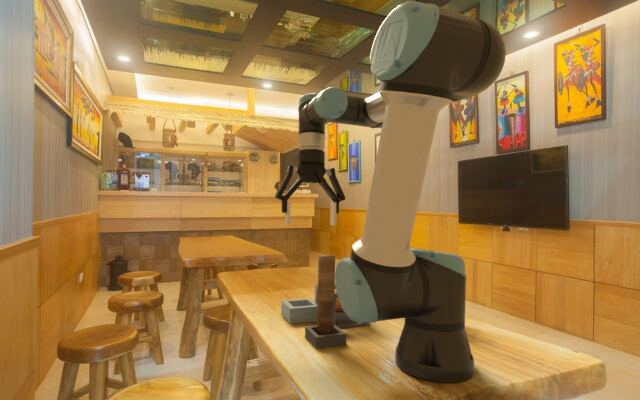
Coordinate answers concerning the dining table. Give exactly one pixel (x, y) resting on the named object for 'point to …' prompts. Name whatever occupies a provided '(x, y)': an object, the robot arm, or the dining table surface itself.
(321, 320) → the bar
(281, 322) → the dining table surface
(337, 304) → the breaker button
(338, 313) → the guard frame
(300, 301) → the grey square holder
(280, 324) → the dining table surface
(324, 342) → the stand
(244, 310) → the dining table surface
